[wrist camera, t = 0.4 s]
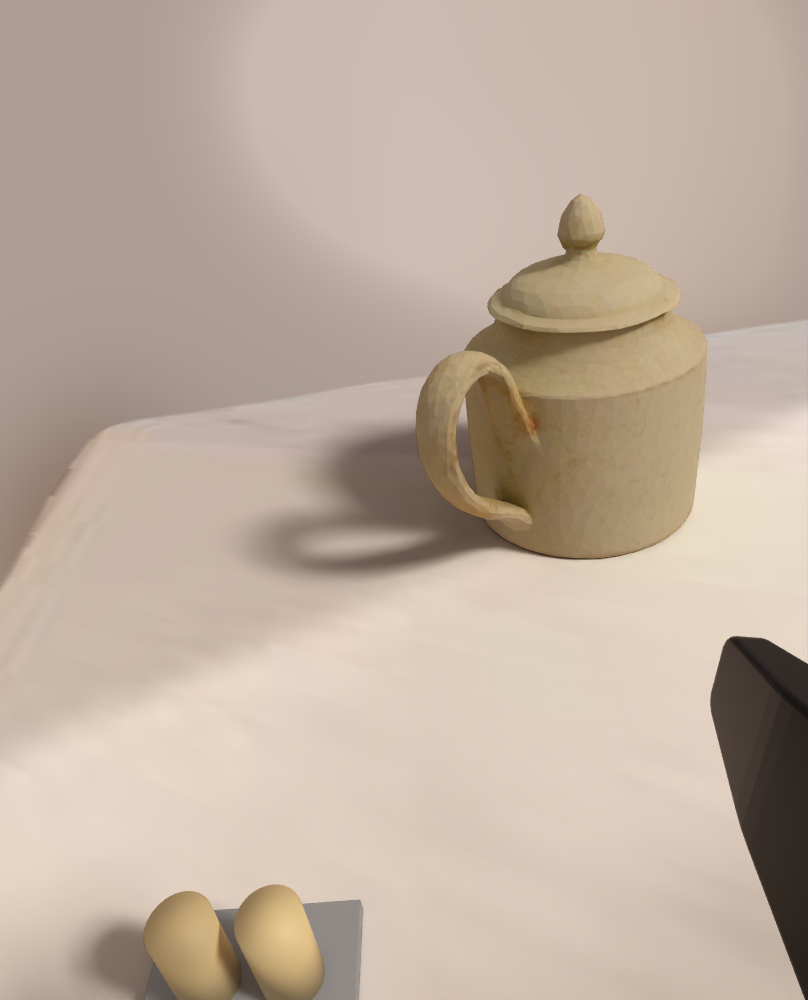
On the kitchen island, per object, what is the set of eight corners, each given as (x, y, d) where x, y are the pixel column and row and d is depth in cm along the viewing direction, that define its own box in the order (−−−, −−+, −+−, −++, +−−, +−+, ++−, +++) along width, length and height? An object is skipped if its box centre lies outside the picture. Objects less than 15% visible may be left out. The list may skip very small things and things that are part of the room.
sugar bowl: (689, 634, 31) (726, 261, 23) (429, 602, 34) (378, 273, 26) (697, 447, 42) (723, 154, 34) (501, 438, 46) (481, 173, 38)
